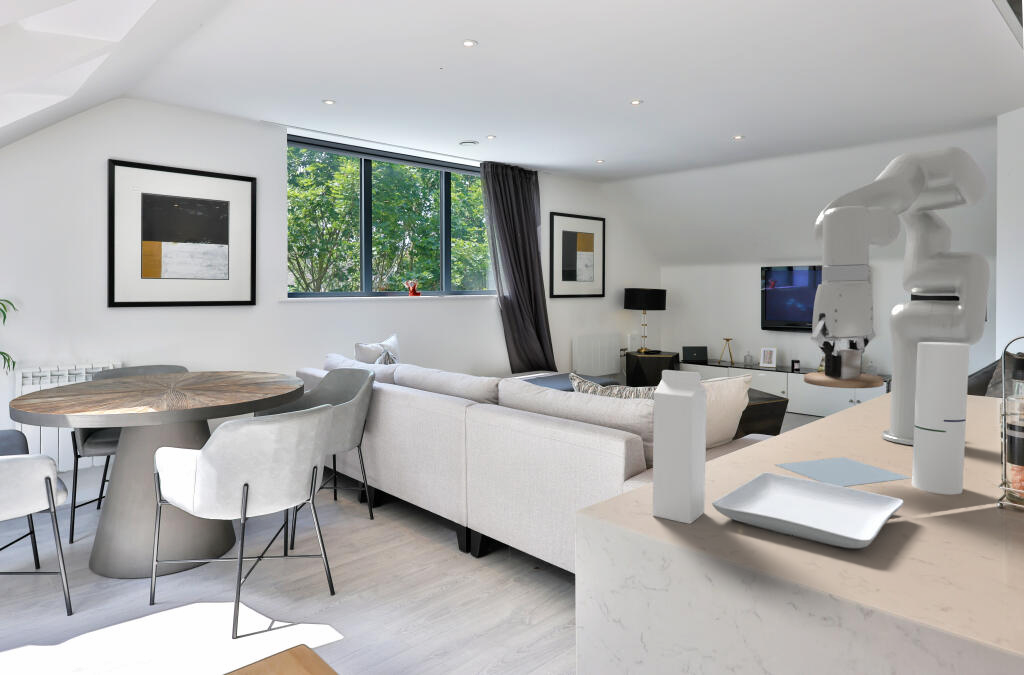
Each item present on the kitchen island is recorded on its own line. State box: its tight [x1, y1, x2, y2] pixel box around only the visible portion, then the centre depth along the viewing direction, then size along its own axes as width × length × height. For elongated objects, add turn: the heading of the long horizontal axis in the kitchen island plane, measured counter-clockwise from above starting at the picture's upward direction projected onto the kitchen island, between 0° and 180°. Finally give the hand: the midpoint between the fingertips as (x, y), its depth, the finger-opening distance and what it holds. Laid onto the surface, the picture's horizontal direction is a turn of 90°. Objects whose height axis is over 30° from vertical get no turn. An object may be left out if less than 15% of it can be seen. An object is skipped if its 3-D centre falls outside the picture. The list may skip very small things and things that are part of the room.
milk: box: [652, 369, 708, 525], centre depth 95 cm, size 6×6×22 cm
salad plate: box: [711, 471, 904, 549], centre depth 93 cm, size 21×21×3 cm
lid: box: [803, 347, 885, 389], centre depth 116 cm, size 13×13×6 cm
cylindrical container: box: [911, 342, 970, 495], centre depth 106 cm, size 7×7×25 cm
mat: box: [774, 456, 912, 487], centre depth 117 cm, size 17×15×1 cm
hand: (842, 374), depth 116 cm, fingers closed on lid, 4 cm apart
